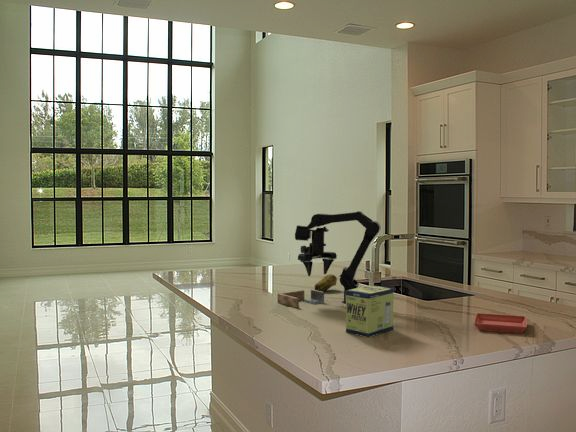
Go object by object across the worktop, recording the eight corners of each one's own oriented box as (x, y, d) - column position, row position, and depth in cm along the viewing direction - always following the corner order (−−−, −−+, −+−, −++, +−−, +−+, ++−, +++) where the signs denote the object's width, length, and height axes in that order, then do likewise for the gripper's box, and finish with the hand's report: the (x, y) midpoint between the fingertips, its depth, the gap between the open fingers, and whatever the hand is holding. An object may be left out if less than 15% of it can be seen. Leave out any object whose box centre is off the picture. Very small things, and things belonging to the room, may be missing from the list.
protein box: (345, 332, 210) (345, 290, 209) (371, 325, 220) (371, 284, 220) (368, 337, 202) (368, 293, 201) (394, 329, 213) (394, 287, 212)
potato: (310, 290, 293) (310, 274, 293) (333, 288, 297) (333, 273, 297) (316, 293, 285) (316, 277, 285) (340, 291, 290) (340, 275, 289)
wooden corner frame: (322, 303, 261) (322, 294, 261) (296, 307, 252) (296, 298, 252) (302, 298, 272) (302, 290, 272) (277, 302, 263) (277, 293, 263)
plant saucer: (476, 320, 227) (476, 312, 227) (526, 324, 221) (526, 315, 220) (473, 331, 210) (473, 322, 210) (526, 336, 204) (527, 326, 204)
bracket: (324, 303, 262) (324, 292, 262) (314, 304, 259) (314, 293, 259) (313, 300, 269) (312, 289, 268) (303, 301, 265) (303, 291, 265)
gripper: (322, 238, 276) (321, 271, 277) (290, 240, 265) (290, 274, 266) (337, 240, 267) (336, 274, 268) (305, 242, 256) (305, 277, 257)
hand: (317, 275), depth 265 cm, fingers open, 9 cm apart
